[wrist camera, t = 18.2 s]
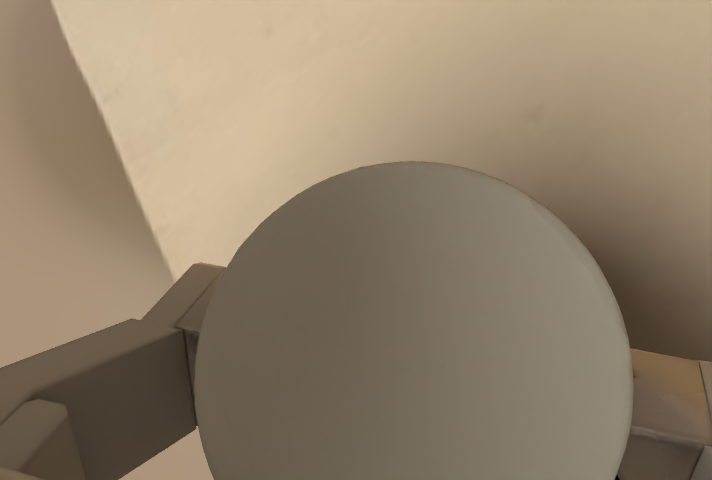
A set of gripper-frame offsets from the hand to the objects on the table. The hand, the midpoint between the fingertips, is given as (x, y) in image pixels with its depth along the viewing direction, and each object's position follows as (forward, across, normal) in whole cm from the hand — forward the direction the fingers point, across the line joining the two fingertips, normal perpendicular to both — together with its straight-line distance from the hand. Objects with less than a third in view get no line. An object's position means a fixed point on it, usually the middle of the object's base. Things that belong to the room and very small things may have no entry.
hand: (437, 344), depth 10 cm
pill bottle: (+3, 0, +4) cm, 5 cm away
